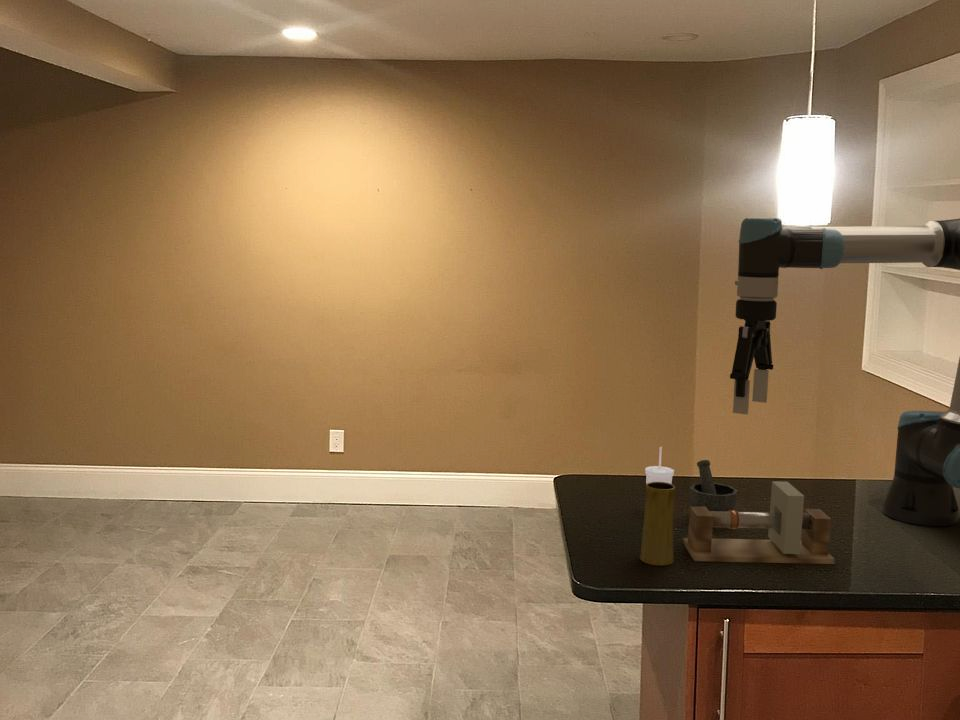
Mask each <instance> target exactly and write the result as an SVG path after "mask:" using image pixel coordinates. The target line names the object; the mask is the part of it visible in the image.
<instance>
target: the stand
mask: <svg viewBox="0 0 960 720" xmlns="http://www.w3.org/2000/svg"><path fill="white" fill-rule="evenodd" d="M803 513H809V514H810V515H811V518H812V526H811V529H802V532H801V544H800V554H783V553H782V551H781V550H780V549H779V548H778V547H777V546H776V545H775V544H774V543H773V542H772V540H771V539H752V538H751V539H749V538H747V539H746V538H745V539H744V538H713V529H714V527H713V515H712V514H711V513H710V512H709V510H708V509H707V508H706V507H699V506H692V505H690V506H689V519H688V533H687V537H683V538H682V544H683V546H684V547H685V548H686V550H687V552H688V553H689V555H690V557H691V559H692V560H693V562H718V563H719V562H721V563H722V562H724V563H725V562H727V563H766V564H767V563H768V564H769V563H771V564H773V563H774V564H775V563H776V564H778V563H779V564H807V565H808V564H811V565H812V564H816V565H819V564H820V565H834V564H835V559H836V558H835V557H833V555H831V554H830V553H829V550H830V538H831V526H832V518H831V517H830V516H828V515H827V514H826V513H825V512H824V511H823V510H821V509H820V508H803Z"/></svg>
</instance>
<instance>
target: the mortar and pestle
mask: <svg viewBox="0 0 960 720" xmlns="http://www.w3.org/2000/svg"><path fill="white" fill-rule="evenodd" d="M696 466H697V468H698V472H699V481H700V482H698V483H693V484H691V486H690V487H689V500H690V504H691V506H699V507H706V508H707V509H708V510H709V511H728V510H734V508H735V507H736V503H737V499H738V494H739V493H738V489H736V488H735V487H733V486H732V485H728V484H727V485H726V484H723V483H717V482H714V478H713V474H712V470H711V468H710V467H711V461H710V460H709V459H704V460H703V459H701V460H699V461H697V462H696Z"/></svg>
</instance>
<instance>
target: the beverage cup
mask: <svg viewBox="0 0 960 720" xmlns="http://www.w3.org/2000/svg"><path fill="white" fill-rule="evenodd" d="M662 451H663V447H662V446H659V451H658V452H659V457H658V465H652V466H651V465H650V466H646V467H645V468H644V472H645V475H646V477H645V478H646V479H645V483H646V484H645V486H646V485H647V483H650V482H666V483H670V484H672V485H673V483H672V481H673V476H674V474H675V469H673V468H671V467H669V466H662V453H663V452H662Z"/></svg>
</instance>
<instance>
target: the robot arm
mask: <svg viewBox="0 0 960 720" xmlns="http://www.w3.org/2000/svg"><path fill="white" fill-rule="evenodd" d="M782 224H783V223H782V220H781V218H780V217H746V218H744V219H743V220H742V221H741V223H740V231H739V238H738V266H737V267H738V268H737V269H738V270H737V280H734V285H735V286H737V287H736V296H737V297H739V298H737V300H736V301H735V302H736V303H735V315H734V316H735V318H737V319H738V320H744V326H742V325H741V326H739V327H738V334H737V336H738V337H737V342H736V348H735V353H734V358H733V363H732V367H731V368H732V369H731V373H729V378H730V379H731V380H734V385H733V386H734V387H733V401H732V402H733V403H732V404H733V405H732V413H733V414H739V415H749V404H750V389H751V388H750V387H751V379H749V377H750V374H751V370H752V366H753V362H754V364H755V367H756V368H754V369H753V382H752V383H753V384H752V385H753V386H752V402H756V403H764V404H766V403H767V402H768V387H769V373H770V371H769V370H773V369H774V364H773V356H772V353H773V352H772V342H771V341H772V339H771V321H774V320H775V319H776V318H777V306H778V305H777V304H778V303H777V301H776V300H775V299H776V298H777V297H778V293H779V292H778V291H779V290H778V289H779V275H780V272H779V271H780V268H782V269H787V268H794V269H819V270H823V269H833V268H837V267H838V266H840V264H901V263H902V264H904V263H905V264H906V263H907V264H908V263H910V264H911V263H914V264H916V263H918V264H919V263H920V264H923V265H924V266H925V267H927V268H944V269H951V270H958V271H960V217H959V218H953V219H944V220H942V219H941V220H929V221H927V222H926V223H924V224H923V225H880V226H879V225H877V226H875V225H874V226H873V225H872V226H867V225H866V226H865V225H864V226H863V225H862V226H860V225H859V226H857V225H856V226H806V227H805V226H796V227H795V226H793V227H792V226H783V225H782ZM958 359H959V360H958V363H957V368H956V374H955V379H954V385H953V389H952V390H953V391H952V394H951V397H950V404H949V408H948V409H947V410H946V411H936V410H935V411H934V410H906V411H903V412H902V413H901V415H900V417H899V420H898V425H897V439H896V450H895V461H894V474H893V479H892V481H891V483H890V484H889V488H888V490H887V491H886V493H885V496H884V498H883V501H882V506H881V507H882V508H881V511H882V513H883V514H884V515H885V516H887V517H888V518H889V517H890V518H892V519H894V520H896V521H900V522H903V523H908V524H913V525H919V526H927V527H929V526H930V527H947V526H953V525H955V524H957V523H958V522H959V517H960V510H959V505H958V501H957V497H956V493H955V489H960V357H958ZM730 379H729V380H730ZM954 488H955V489H954Z"/></svg>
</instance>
